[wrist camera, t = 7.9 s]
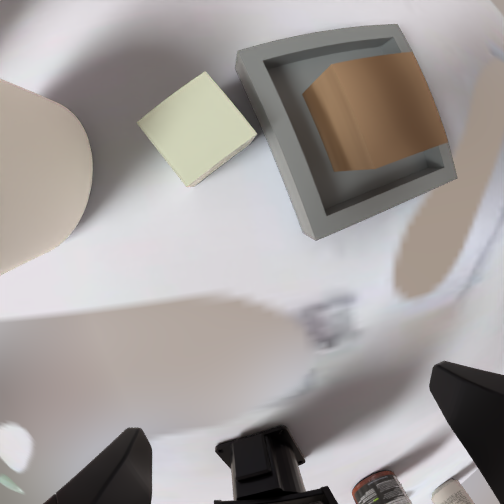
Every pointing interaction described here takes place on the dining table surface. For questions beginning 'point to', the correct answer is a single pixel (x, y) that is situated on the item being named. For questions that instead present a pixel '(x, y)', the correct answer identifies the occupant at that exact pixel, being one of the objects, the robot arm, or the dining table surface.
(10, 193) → the cup
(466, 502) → the energy drink can
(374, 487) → the supplement bottle
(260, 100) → the tray
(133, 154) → the dining table surface
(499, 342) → the dining table surface
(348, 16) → the dining table surface
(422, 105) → the walnut cube
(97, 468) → the robot arm
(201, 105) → the sage cube
